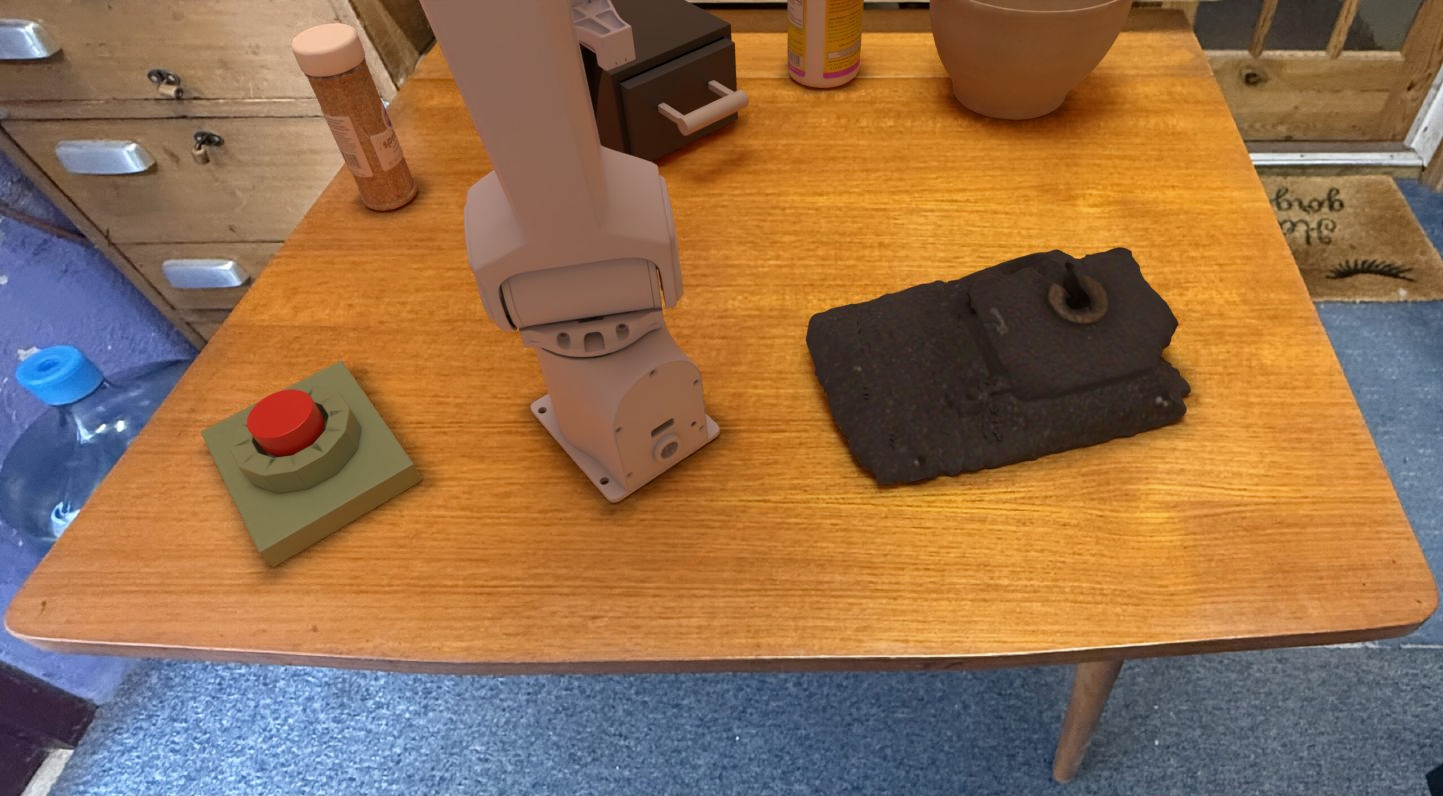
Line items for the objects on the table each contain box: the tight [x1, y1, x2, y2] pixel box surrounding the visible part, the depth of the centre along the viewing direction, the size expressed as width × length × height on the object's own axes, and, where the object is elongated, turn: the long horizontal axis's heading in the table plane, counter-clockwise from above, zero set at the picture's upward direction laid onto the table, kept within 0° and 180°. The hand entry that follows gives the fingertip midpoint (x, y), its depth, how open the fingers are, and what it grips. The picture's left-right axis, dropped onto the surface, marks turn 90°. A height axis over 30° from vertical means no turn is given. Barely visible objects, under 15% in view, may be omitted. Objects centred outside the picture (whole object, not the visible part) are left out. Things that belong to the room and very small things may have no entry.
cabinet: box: [596, 0, 733, 159], centre depth 71 cm, size 14×12×9 cm
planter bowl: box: [929, 0, 1134, 121], centre depth 69 cm, size 16×16×11 cm
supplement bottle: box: [786, 0, 865, 89], centre depth 73 cm, size 7×7×13 cm
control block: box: [200, 360, 423, 568], centre depth 49 cm, size 11×9×4 cm
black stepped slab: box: [805, 246, 1192, 485], centre depth 51 cm, size 15×22×5 cm
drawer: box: [620, 38, 750, 162], centre depth 69 cm, size 17×10×7 cm, turn 39°
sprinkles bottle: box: [290, 22, 418, 212], centre depth 63 cm, size 5×5×14 cm
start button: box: [247, 389, 325, 457], centre depth 47 cm, size 4×4×2 cm
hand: (578, 131), depth 56 cm, fingers closed
